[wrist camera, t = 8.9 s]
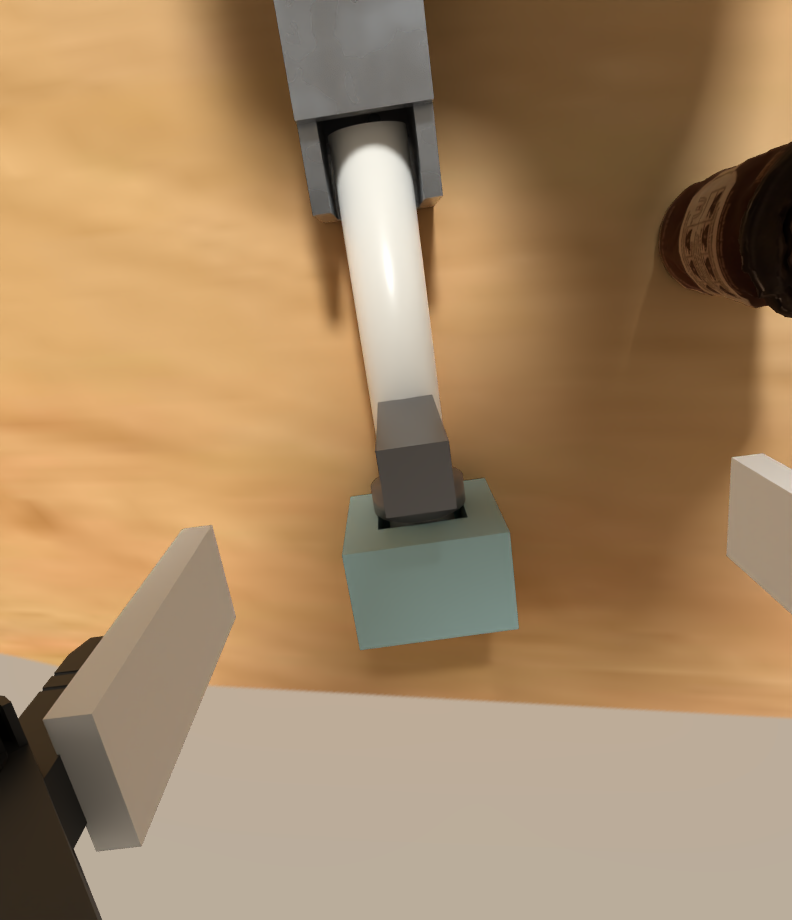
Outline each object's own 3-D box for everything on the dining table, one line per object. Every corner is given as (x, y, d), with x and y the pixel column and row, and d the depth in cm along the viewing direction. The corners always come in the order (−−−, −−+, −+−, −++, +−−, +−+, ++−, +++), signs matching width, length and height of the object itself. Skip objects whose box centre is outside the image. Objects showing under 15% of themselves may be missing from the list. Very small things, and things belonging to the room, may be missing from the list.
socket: (350, 496, 40) (341, 555, 32) (484, 477, 40) (509, 532, 32) (364, 575, 42) (360, 650, 34) (493, 558, 42) (518, 629, 34)
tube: (318, 150, 33) (275, 78, 20) (418, 134, 33) (440, 51, 20) (385, 553, 41) (385, 689, 28) (466, 542, 41) (505, 673, 28)
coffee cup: (651, 332, 37) (784, 366, 25) (618, 195, 35) (746, 158, 23) (792, 278, 36) (1001, 287, 24) (768, 135, 34) (986, 62, 22)
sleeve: (282, -23, 31) (256, -95, 25) (404, -43, 31) (410, -121, 25) (324, 223, 35) (310, 214, 29) (433, 206, 35) (444, 193, 29)
